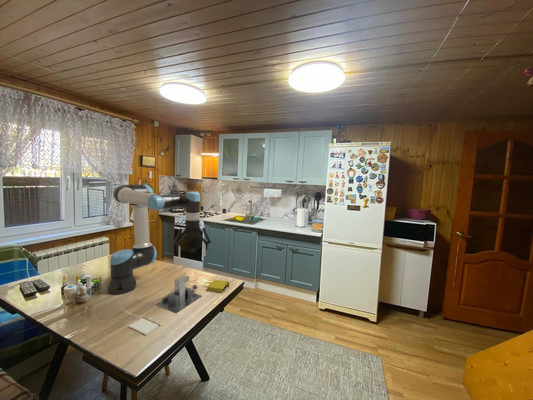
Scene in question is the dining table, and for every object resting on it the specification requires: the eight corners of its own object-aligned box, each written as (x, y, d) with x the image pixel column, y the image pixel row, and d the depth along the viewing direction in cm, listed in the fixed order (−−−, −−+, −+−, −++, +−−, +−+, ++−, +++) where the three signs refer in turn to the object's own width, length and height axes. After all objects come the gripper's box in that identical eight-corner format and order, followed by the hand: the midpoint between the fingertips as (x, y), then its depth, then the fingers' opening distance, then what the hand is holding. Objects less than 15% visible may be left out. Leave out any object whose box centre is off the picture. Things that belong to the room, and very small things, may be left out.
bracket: (210, 272, 153) (231, 274, 150) (210, 283, 154) (231, 285, 151) (199, 282, 138) (222, 285, 135) (198, 294, 139) (221, 297, 136)
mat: (128, 326, 106) (128, 325, 106) (158, 309, 120) (158, 308, 120) (146, 335, 101) (146, 334, 101) (174, 316, 115) (174, 315, 115)
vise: (154, 306, 123) (154, 296, 122) (186, 288, 144) (186, 279, 143) (176, 315, 116) (176, 304, 115) (206, 295, 137) (206, 285, 136)
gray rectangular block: (174, 301, 127) (174, 279, 126) (183, 295, 134) (183, 275, 133) (179, 302, 126) (179, 281, 125) (188, 297, 132) (189, 276, 131)
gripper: (168, 221, 118) (168, 260, 120) (216, 220, 128) (215, 256, 130) (168, 218, 125) (168, 256, 127) (214, 217, 135) (213, 252, 137)
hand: (192, 256), depth 128 cm, fingers open, 13 cm apart
